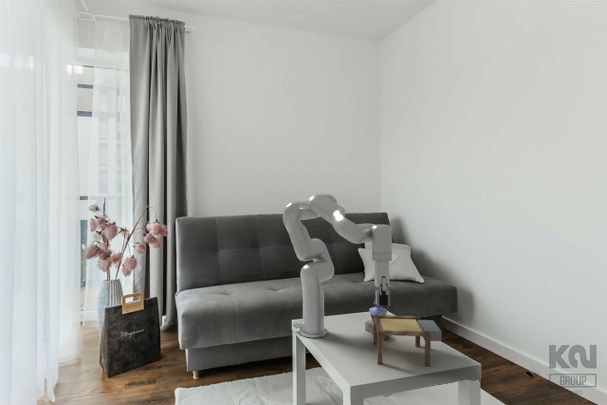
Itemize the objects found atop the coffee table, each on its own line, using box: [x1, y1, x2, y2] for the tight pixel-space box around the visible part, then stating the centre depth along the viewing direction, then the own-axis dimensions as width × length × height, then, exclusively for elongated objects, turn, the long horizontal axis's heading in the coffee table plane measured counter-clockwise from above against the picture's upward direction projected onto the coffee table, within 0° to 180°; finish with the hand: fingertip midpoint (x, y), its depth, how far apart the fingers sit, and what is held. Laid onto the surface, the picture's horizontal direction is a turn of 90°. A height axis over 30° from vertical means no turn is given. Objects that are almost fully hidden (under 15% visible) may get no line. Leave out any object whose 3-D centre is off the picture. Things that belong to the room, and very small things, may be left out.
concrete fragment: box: [364, 320, 391, 340], centre depth 161 cm, size 7×14×6 cm, turn 15°
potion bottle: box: [369, 298, 388, 322], centre depth 174 cm, size 9×9×12 cm
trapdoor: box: [380, 319, 443, 342], centre depth 140 cm, size 21×14×4 cm, turn 84°
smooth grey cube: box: [375, 289, 391, 307], centre depth 141 cm, size 5×5×5 cm
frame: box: [372, 314, 432, 368], centre depth 140 cm, size 19×19×12 cm
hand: (382, 302), depth 141 cm, fingers closed on smooth grey cube, 5 cm apart
